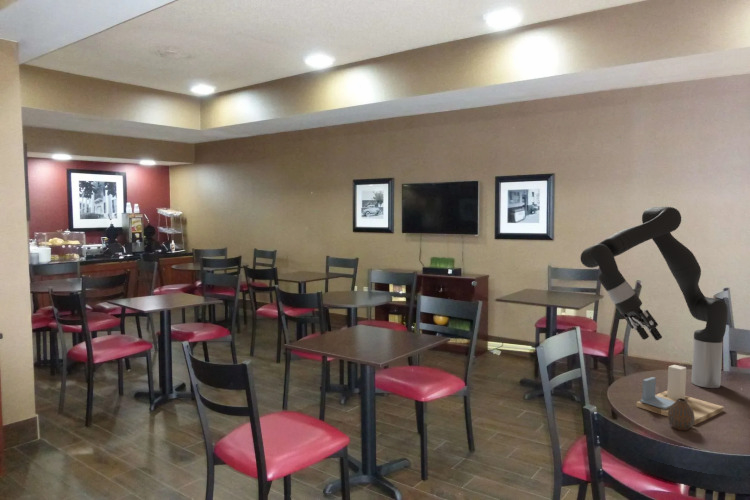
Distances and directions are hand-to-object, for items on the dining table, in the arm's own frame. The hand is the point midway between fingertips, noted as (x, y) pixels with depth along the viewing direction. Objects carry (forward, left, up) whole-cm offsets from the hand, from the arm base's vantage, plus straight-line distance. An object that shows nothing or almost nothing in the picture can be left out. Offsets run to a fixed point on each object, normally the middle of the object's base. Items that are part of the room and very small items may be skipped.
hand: (652, 338), depth 170 cm
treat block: (-11, +3, -23) cm, 26 cm away
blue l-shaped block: (0, +3, -21) cm, 21 cm away
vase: (+9, +14, -23) cm, 29 cm away
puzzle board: (-5, +7, -23) cm, 25 cm away
